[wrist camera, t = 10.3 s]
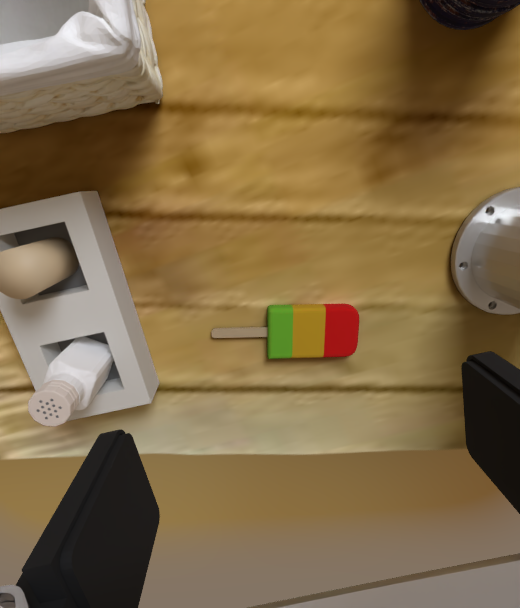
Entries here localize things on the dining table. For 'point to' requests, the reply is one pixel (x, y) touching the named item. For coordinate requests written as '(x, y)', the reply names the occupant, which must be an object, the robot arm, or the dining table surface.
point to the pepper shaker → (71, 381)
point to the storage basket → (74, 60)
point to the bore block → (72, 295)
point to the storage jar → (467, 11)
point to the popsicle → (304, 331)
